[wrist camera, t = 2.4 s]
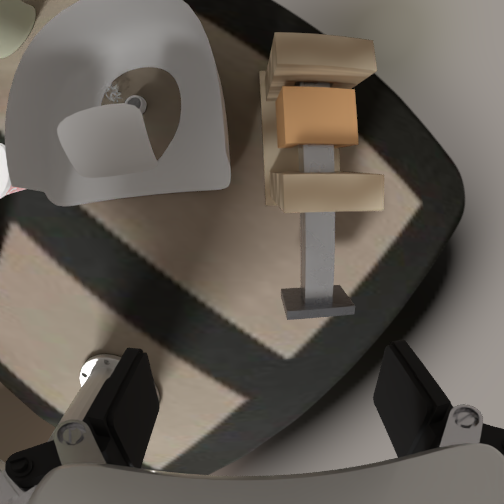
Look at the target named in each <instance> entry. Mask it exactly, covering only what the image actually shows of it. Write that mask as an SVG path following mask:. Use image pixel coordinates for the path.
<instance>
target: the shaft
mask: <svg viewBox="0 0 504 504" xmlns="http://www.w3.org/2000/svg"><path fill="white" fill-rule="evenodd" d="M295 86H301V87H327V88H330V83H323V82H296V83H295ZM298 154H299V172H300V173H318V172H335V171H334V145H298ZM300 225H301V288H289V289H281V298H282V302H283V305H284V309H285V313H286V317H287V320H291V319H305V318H317V317H329V316H340V315H350V314H354V311H355V305H354V304H353V302H352V301H351V300H350V298H349V297H348V296H347V294H346V293H345V292H344V290H343V289H342V288H341V286H340V285H334V286H333V281H334V252H335V212H304V213H300Z"/></svg>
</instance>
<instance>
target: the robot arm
mask: <svg viewBox="0 0 504 504" xmlns="http://www.w3.org/2000/svg"><path fill="white" fill-rule="evenodd" d="M80 382H81V386H82V387H81V389H80V390H79V392H78V394H77V395H76V397H75V398H74V400H73V401H72V403H71V404H70V406H69V408H68V409H67V411H66V412H65V414H64V416H63V417H62V419H61V421H60V422H59V424H58V425H57V427H56V429H55V430H54V432H53V434H52V435H51V437H50V439H49V440H48V442H46V443H43V444H40V445H37V446H35V447H32V448H29V449H26V450H22V451H19V452H16V453H14V454H12V455H11V456H10V457H9V458H8V460H7V461H6V464H5V463H4V462H3V461H1V460H0V504H504V429H501V428H497V427H493V426H490V425H486V424H483V416H482V414H481V412H480V411H479V410H478V409H476V408H475V407H473V406H470V405H465V404H463V405H458V406H455V407H454V408H453V406H452V405H451V402H450V401H449V399H448V398H447V396H446V395H445V393H444V392H443V391H442V389H441V388H440V387H439V385H438V384H437V382H436V381H435V380H434V378H433V377H432V376H431V374H430V373H429V372H428V370H427V369H426V367H425V366H424V365H423V363H422V362H421V361H420V359H419V358H418V357H417V356H416V354H415V353H414V352H413V350H412V349H411V348H410V346H409V345H408V344H407V342H406V341H405V340H400V341H393V342H391V343H390V344H389V346H386V348H385V352H384V356H383V360H382V365H381V369H380V373H379V377H378V381H377V385H376V388H375V392H374V397H373V400H374V404H375V406H376V408H377V410H378V413H379V415H380V417H381V419H382V422H383V424H384V426H385V428H386V431H387V433H388V435H389V437H390V440H391V442H392V444H393V447H394V449H395V451H396V454H397V456H398V458H395V459H390V460H386V461H382V462H376V463H372V464H367V465H361V466H356V467H350V468H344V469H338V470H330V471H322V472H313V473H303V474H291V475H275V476H211V475H195V474H183V473H173V472H163V471H155V470H147V469H140V468H141V465H142V462H143V459H144V455H145V452H146V449H147V446H148V443H149V440H150V436H151V433H152V430H153V427H154V424H155V421H156V418H157V415H158V412H159V402H160V396H159V392H158V389H157V387H156V385H155V383H154V380H153V376H152V372H151V368H150V364H149V360H148V356H147V353H143V351H142V349H135V348H127V349H126V351H125V352H124V354H123V356H122V357H119V356H115V355H109V354H101V355H96V356H93V357H91V358H89V359H88V360H87V361H86V362H85V363H84V365H83V366H82V368H81V371H80Z"/></svg>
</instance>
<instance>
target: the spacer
mask: <svg viewBox="0 0 504 504" xmlns="http://www.w3.org/2000/svg"><path fill="white" fill-rule="evenodd" d="M275 104H276V123H277V143H278V148H292V147H294V146H297V145H334V148H341V147H347V146H352V145H358V127H357V111H356V98H355V89H343V88H327V87H301V86H282V88H281V91H280V93H279V95H278V97H277V99H276V102H275Z"/></svg>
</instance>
